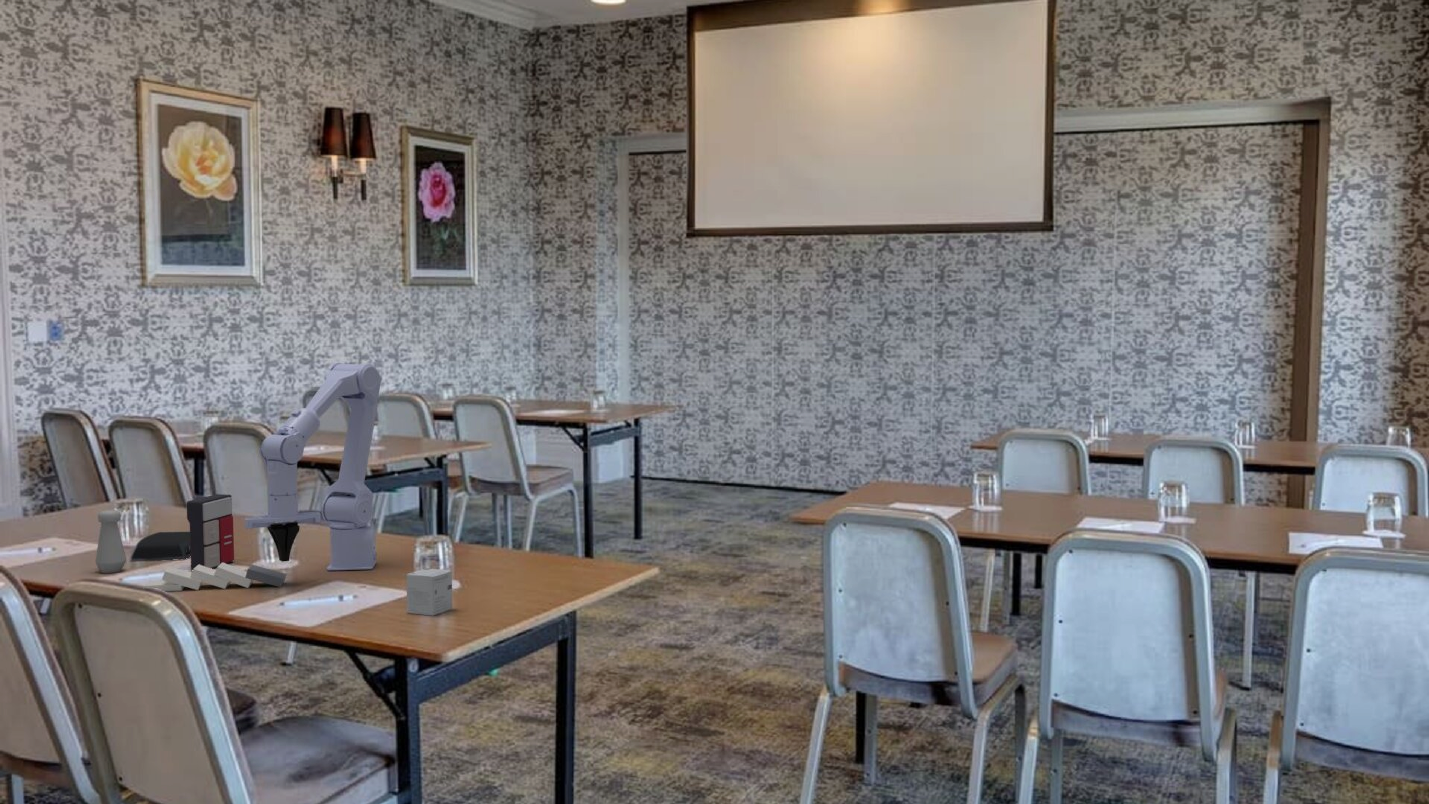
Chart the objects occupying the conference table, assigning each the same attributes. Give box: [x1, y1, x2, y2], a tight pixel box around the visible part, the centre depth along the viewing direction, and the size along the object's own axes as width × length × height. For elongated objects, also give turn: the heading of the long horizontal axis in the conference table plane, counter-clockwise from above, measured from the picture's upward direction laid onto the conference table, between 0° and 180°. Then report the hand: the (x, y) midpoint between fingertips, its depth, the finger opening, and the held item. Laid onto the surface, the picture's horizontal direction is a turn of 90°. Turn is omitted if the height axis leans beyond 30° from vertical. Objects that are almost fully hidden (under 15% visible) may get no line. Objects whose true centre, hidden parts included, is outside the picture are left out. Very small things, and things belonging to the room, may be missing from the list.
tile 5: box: [143, 579, 186, 592], centre depth 241 cm, size 2×4×7 cm
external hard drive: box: [129, 531, 191, 563], centre depth 277 cm, size 13×19×4 cm
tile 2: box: [214, 562, 255, 589], centre depth 243 cm, size 2×4×7 cm
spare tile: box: [245, 564, 288, 588], centre depth 244 cm, size 2×4×7 cm
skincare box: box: [406, 567, 453, 616], centre depth 224 cm, size 6×6×7 cm
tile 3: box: [190, 565, 232, 590], centre depth 243 cm, size 2×4×7 cm
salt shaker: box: [95, 509, 127, 574], centre depth 257 cm, size 6×6×13 cm
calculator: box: [186, 493, 235, 571], centre depth 262 cm, size 11×4×15 cm, turn 168°
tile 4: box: [161, 566, 203, 591], centre depth 241 cm, size 2×4×7 cm
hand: (284, 560), depth 245 cm, fingers closed
